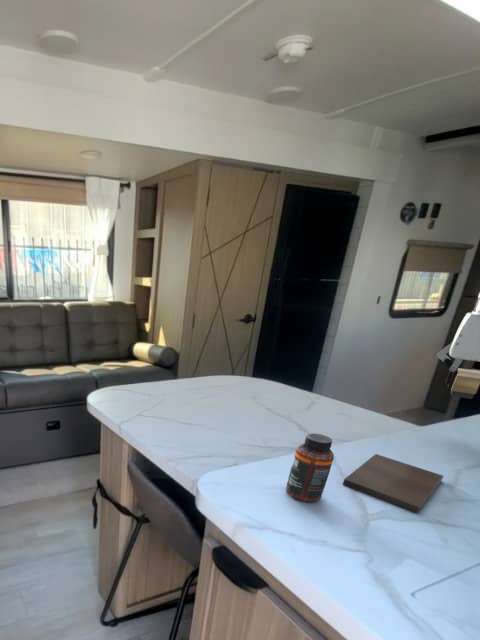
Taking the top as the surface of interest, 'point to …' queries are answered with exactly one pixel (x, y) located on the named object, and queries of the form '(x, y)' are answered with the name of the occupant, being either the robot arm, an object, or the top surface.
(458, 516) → the top surface
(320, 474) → the supplement bottle
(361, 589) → the top surface
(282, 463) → the top surface
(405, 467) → the board
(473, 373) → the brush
